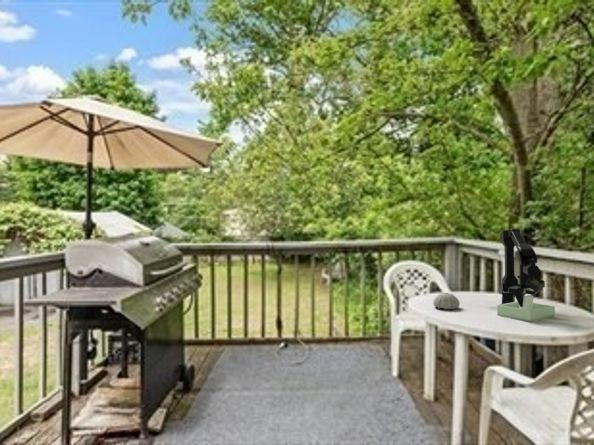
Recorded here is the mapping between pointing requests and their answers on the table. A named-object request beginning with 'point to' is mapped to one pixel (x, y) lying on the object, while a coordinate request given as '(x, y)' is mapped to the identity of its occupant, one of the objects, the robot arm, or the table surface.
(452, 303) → the sea urchin shell
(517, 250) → the robot arm
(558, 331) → the table surface
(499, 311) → the bin
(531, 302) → the shot glass
